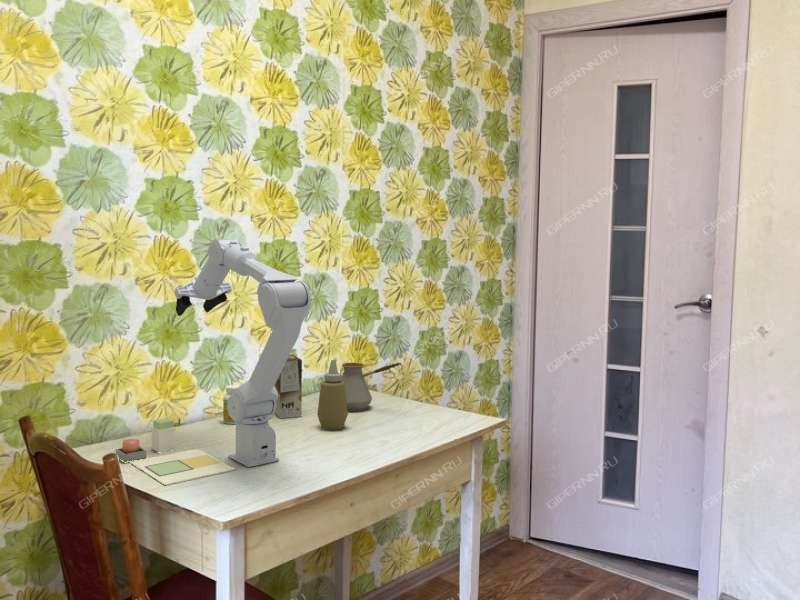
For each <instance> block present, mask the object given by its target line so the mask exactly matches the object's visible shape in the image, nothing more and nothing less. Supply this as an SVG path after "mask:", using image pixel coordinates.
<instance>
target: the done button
mask: <svg viewBox="0 0 800 600" xmlns="http://www.w3.org/2000/svg"><path fill="white" fill-rule="evenodd" d="M140 444H141V443H140V439H138V438H128V439H124V440H122V448H123V453H124V454H129V453H134V452H139V451H140V447H141V446H140Z"/></svg>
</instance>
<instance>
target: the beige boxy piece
mask: <svg viewBox="0 0 800 600" xmlns="http://www.w3.org/2000/svg"><path fill="white" fill-rule="evenodd" d="M152 423H153V425H152V426H151V450H152V449H154V450H155V451H154V450H153V451H154V452H156V451H157V452H164V453H166V452H165V451H169V452H172V451H171V450H174V451H176V427H175V426H174V420H172V419H170V418H168V417H165V418H159V419H153V420H152ZM157 452H156V453H157Z"/></svg>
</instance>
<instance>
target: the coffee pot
mask: <svg viewBox="0 0 800 600" xmlns="http://www.w3.org/2000/svg"><path fill="white" fill-rule="evenodd" d="M400 365H401V368H400ZM364 366H365V364H364V363H361V362H344V363H342V364H341V367H343V373H342V380H341V381H343V382H344V383H345V387H346V400H347V412H358V411H359V410H360V411H364V410H365V409H366V408H367V407H368V406H370V404H371V402H372V400H373V397H372V395H371V392H370V389H369V387H368V384H367V381H366V380H365V377H368V376H371V375H374V374H378V373H381V372H384V371H388V370H390V369H392V368H393V369H395V367H398V369H399V370H401V371H402V370H403V368H404V367H403V364H402V362H396V363H391V364H389V365H388V364H387V365H384V366H381V367H380V368H377V369H374V370H372V371H368V372H366V373H362V371H363V368H364ZM360 411H359V412H360Z"/></svg>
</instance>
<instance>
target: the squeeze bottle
mask: <svg viewBox="0 0 800 600" xmlns="http://www.w3.org/2000/svg"><path fill="white" fill-rule="evenodd" d="M342 375H343V373H341V372H339V369H338V365H337V360H336V359H331V360H330V364H329V368H328V372H326V373H324V375H323V376H324V378H323V379H324V381H322V382H321V383H320V386H319V387H320V389H319V395H318V396H319V398H318V407H317V414H316V415H317V418H318V421H319V424H320V427H321V428H322V429H323V430H327V429H328V430H329V431H336V430H340V429H343V428H344V427H345V425H346V424H345V423H346V422H347V419H348V418H347V417H348V416H349V415H348V412H349V411H347V400H346V387H345V383H344V382H343V381H341V380H342ZM328 430H327V431H328Z"/></svg>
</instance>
